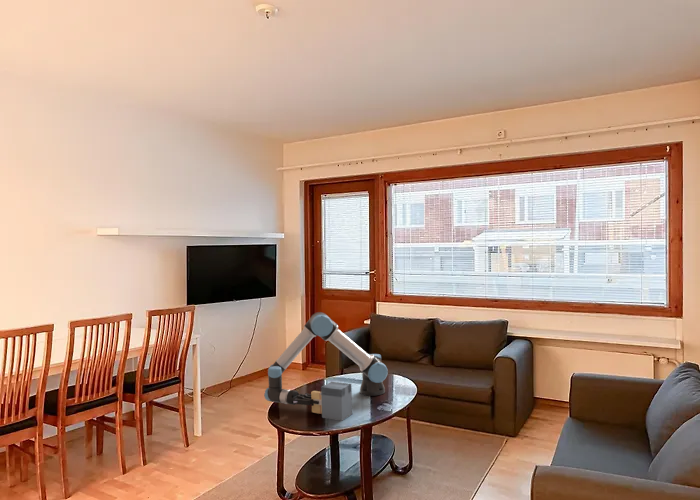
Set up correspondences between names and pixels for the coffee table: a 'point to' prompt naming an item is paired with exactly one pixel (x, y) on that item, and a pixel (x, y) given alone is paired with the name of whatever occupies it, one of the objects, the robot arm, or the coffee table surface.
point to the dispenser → (336, 400)
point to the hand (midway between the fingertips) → (326, 402)
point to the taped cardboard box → (316, 407)
